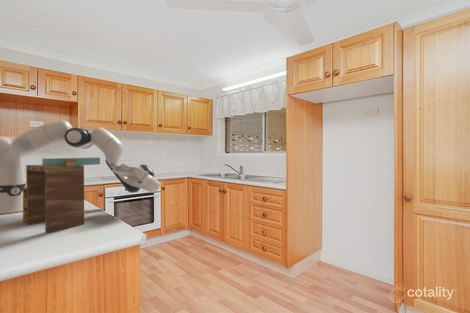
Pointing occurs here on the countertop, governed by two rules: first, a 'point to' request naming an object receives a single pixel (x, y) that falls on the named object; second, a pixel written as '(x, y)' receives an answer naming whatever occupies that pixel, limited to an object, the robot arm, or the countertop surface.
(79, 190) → the wooden cabinet unit
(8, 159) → the robot arm
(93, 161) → the teal block
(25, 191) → the candy box
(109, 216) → the countertop surface
